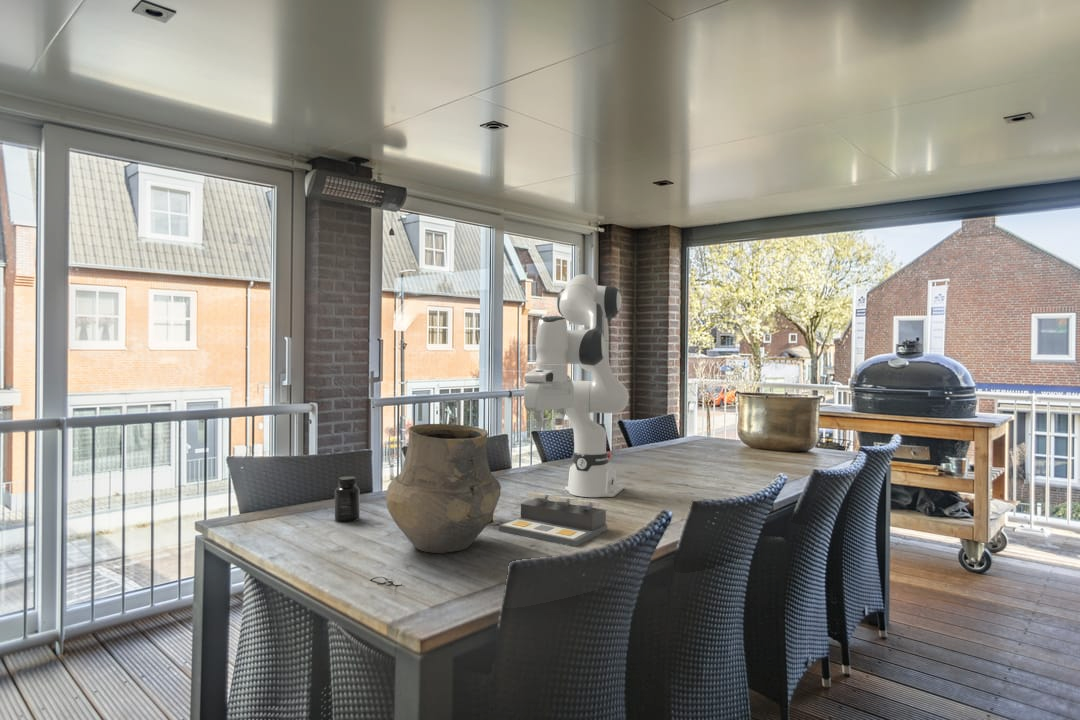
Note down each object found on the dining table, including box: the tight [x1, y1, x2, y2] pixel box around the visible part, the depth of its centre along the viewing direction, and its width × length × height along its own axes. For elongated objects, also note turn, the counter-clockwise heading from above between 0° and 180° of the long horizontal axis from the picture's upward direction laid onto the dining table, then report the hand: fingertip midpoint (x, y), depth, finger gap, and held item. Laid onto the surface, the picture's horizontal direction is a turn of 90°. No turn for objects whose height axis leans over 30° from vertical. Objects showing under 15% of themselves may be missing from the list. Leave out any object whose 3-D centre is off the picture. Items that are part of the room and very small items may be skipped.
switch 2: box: [548, 495, 579, 507], centre depth 179 cm, size 11×4×2 cm, turn 148°
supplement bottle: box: [334, 475, 361, 523], centre depth 182 cm, size 7×7×12 cm
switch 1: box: [526, 492, 558, 503], centre depth 182 cm, size 11×4×2 cm, turn 148°
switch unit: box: [498, 499, 608, 548], centre depth 175 cm, size 18×24×6 cm
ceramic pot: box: [385, 423, 502, 554], centre depth 159 cm, size 28×28×30 cm
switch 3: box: [570, 499, 601, 510], centre depth 175 cm, size 11×4×2 cm, turn 148°
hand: (550, 426), depth 173 cm, fingers open, 8 cm apart
